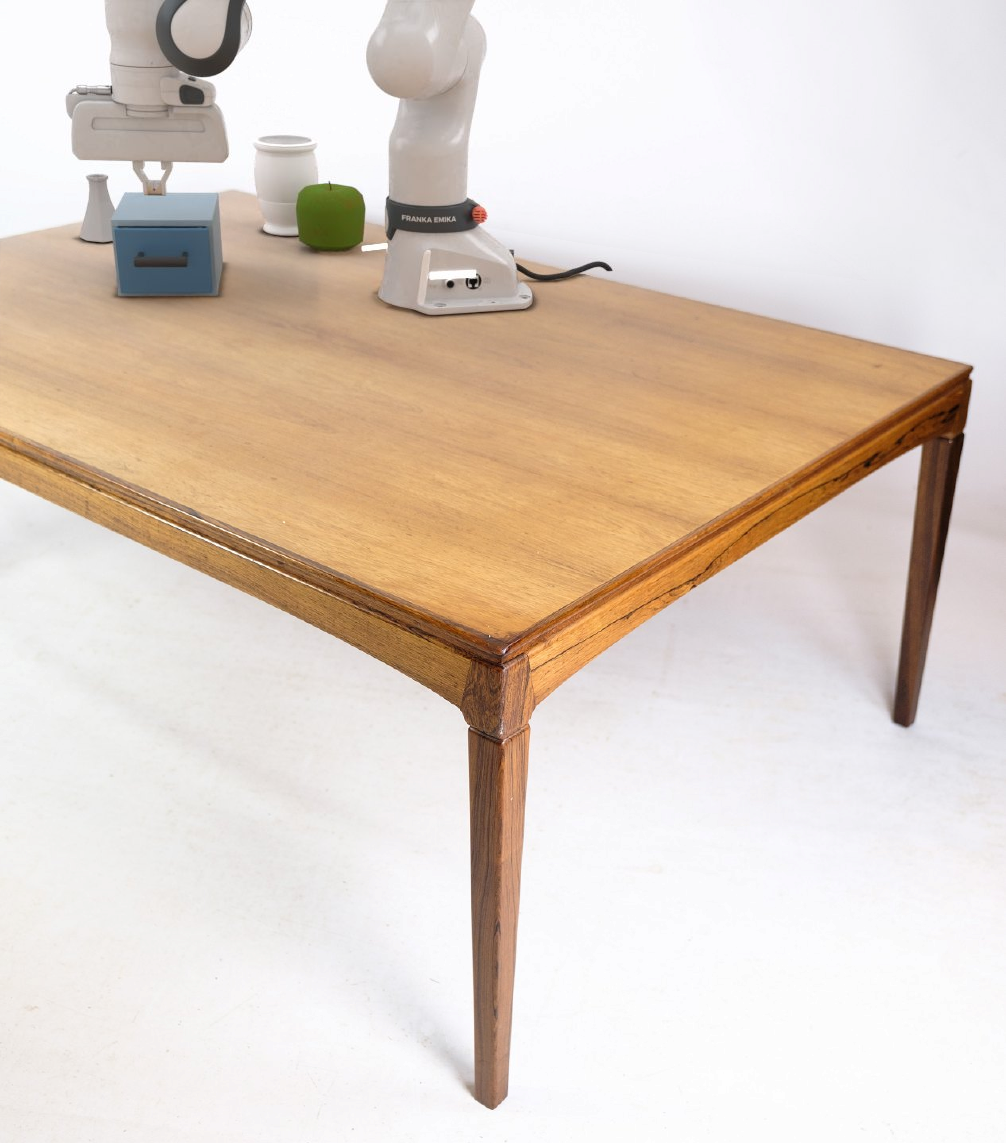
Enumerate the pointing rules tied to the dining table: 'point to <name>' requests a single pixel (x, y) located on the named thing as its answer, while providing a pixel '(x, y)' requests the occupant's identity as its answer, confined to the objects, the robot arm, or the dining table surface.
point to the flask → (98, 211)
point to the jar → (283, 178)
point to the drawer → (163, 259)
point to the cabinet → (173, 224)
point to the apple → (330, 217)
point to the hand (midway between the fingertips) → (155, 195)
